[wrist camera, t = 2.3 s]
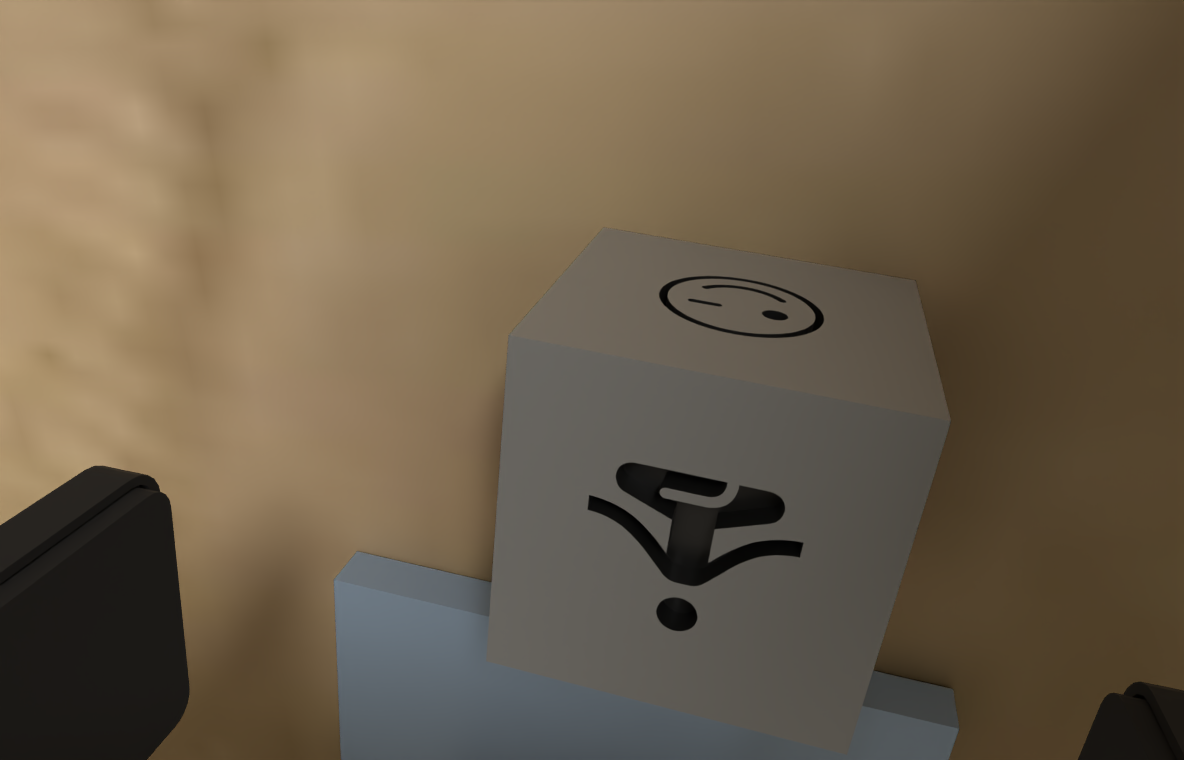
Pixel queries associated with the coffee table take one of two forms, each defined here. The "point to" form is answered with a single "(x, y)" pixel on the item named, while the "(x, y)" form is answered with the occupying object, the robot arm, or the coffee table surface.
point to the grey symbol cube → (713, 481)
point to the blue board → (547, 692)
